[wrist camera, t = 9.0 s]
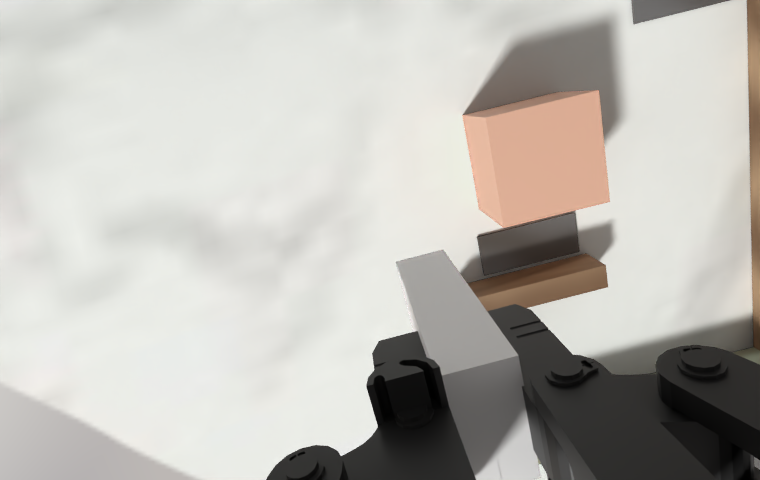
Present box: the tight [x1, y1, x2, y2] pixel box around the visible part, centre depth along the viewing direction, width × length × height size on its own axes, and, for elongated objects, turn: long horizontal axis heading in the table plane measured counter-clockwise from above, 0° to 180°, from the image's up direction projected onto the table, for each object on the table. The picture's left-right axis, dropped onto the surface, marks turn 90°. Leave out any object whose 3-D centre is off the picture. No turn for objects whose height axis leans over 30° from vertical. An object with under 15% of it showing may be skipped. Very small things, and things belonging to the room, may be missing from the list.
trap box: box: [467, 0, 760, 464], centre depth 30 cm, size 33×23×4 cm
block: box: [462, 90, 610, 228], centre depth 28 cm, size 6×6×5 cm
